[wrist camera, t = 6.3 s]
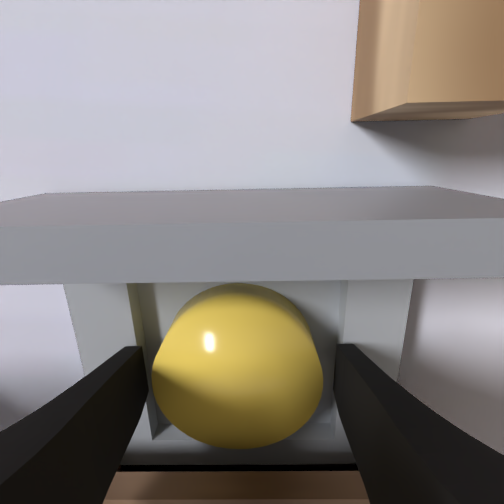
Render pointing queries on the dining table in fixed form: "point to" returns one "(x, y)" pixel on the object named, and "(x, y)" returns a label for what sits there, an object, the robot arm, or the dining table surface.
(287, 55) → the dining table surface
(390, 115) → the block
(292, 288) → the tray
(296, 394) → the yellow flat dome
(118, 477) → the housing
